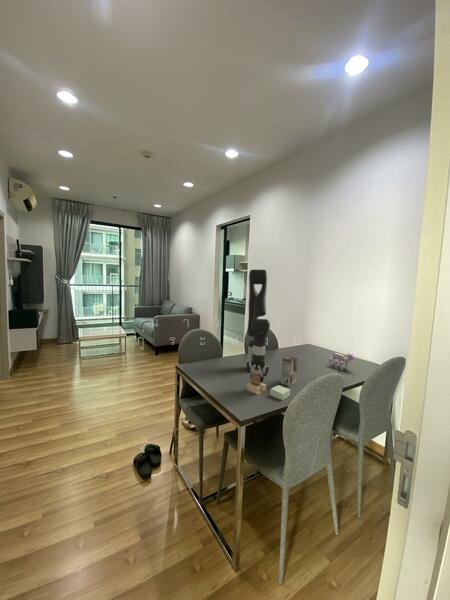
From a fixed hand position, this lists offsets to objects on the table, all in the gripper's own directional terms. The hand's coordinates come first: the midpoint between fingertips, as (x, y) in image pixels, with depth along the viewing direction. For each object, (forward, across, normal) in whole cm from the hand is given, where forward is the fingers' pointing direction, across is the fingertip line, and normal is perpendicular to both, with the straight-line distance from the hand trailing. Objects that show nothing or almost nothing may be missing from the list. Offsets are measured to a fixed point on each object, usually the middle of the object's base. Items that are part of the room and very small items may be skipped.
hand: (256, 380), depth 154 cm
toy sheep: (+6, -44, -71) cm, 84 cm away
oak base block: (+6, 0, 0) cm, 6 cm away
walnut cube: (+1, 0, 0) cm, 1 cm away
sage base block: (+6, -14, -1) cm, 15 cm away
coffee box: (+6, -14, -22) cm, 27 cm away
